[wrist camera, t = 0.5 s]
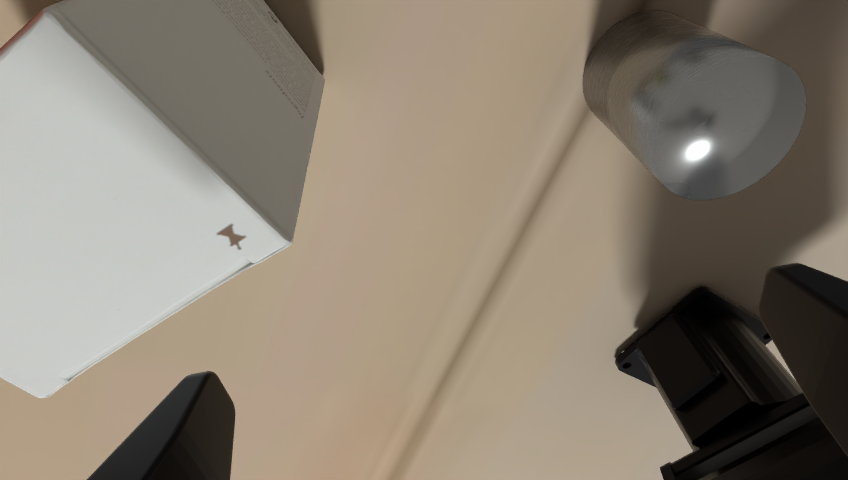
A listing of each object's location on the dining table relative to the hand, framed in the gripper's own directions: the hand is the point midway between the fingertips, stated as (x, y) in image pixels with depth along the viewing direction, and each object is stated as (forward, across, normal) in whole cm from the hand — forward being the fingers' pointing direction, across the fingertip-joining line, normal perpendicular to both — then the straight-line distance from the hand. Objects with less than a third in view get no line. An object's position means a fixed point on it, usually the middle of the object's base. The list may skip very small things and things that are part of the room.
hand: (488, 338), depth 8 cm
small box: (+13, +8, -2) cm, 16 cm away
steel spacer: (+14, -8, +1) cm, 16 cm away
